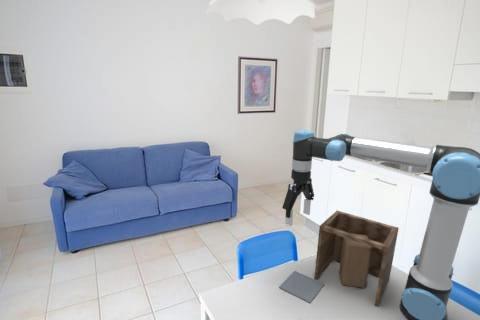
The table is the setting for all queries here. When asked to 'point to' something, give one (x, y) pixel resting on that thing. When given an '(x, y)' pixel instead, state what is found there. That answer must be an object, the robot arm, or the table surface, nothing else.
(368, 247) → the wooden block
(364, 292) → the table surface
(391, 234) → the cubby
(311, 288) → the mat
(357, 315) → the table surface
